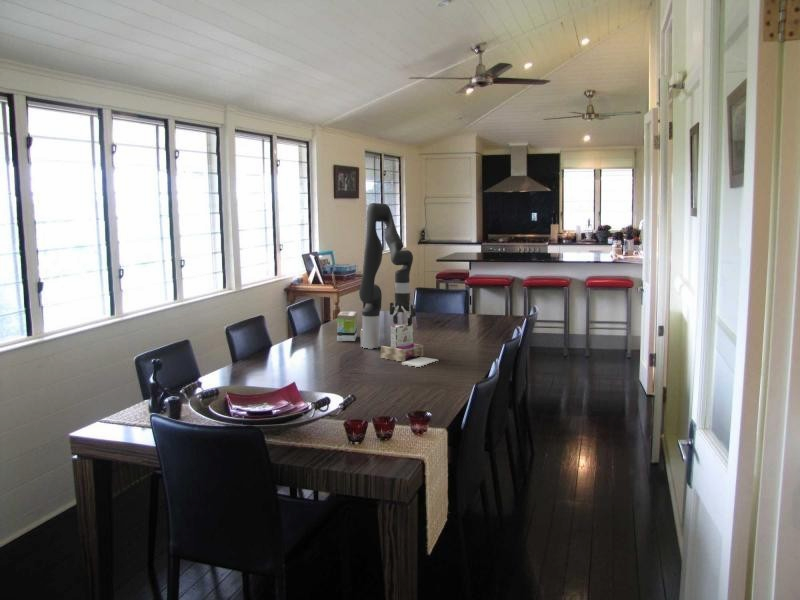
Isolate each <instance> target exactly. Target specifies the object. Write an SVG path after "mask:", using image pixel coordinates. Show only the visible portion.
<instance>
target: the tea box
mask: <svg viewBox="0 0 800 600" xmlns="http://www.w3.org/2000/svg"><path fill="white" fill-rule="evenodd" d="M336 321H337V323H336V326H337V327H336V328H337V329H336V330H337V331H336V342H342V341H354V342H355V341H356V339H357V337H358V311H339V313H338V314H337V320H336ZM356 336H357V337H356Z"/></svg>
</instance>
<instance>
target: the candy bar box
mask: <svg viewBox="0 0 800 600" xmlns="http://www.w3.org/2000/svg"><path fill="white" fill-rule="evenodd" d="M414 336H415V335H414V324H413V323H412V325H410V326H408V322H406V323H401V324H400V323H399V324H392V325H390V347H392V348H398V349H404V350H405V349H409V348H412V347H414V344H415V343H414ZM410 356H414V350H411V351H407V352H406V357H409V358H411V357H410ZM414 357H415V356H414Z"/></svg>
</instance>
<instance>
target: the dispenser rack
mask: <svg viewBox="0 0 800 600" xmlns="http://www.w3.org/2000/svg"><path fill="white" fill-rule="evenodd" d="M411 350H414V355H419V356H423V357H424V345H423V344H419V343H414V347H412V348H409V349H405V350H404V349H398V348H392V347H391V346H386V345H381V346H380V359H382V358H385V359H384V360H387V359H390V360H389V361H393V360H396V361H395V362H398V361H402V362H405V361H407V360H406V359H407V358H406V352H407V351H411ZM402 362H401V363H402Z"/></svg>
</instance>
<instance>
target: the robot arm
mask: <svg viewBox="0 0 800 600" xmlns="http://www.w3.org/2000/svg"><path fill="white" fill-rule="evenodd" d="M377 222H378V223H381V222H383V223H384V225H385V226H386V228H385V233H384V239H385V243H386V244H387V246H388V248H389V252H390V260H391V262H392V264H393V265H395V266H402V268H401V269H398V270H396V271H395V272H394V301H393V302H390V303H389V315H391V316H392V321H393V325H398V322H399V321H398V315H399V314H400V313H402V314H404V315H406V316H407V323H408V326H410V325H412V324H413V318H414V317H416V316H417V314H416V313H417V311H416V304H415V303H413V304H411V303H410V302H411V283H410V281H411V279H410V274H411V273H410V272H411V271H412V270H411V269H412V266H413V262H414V255H413V253H412V252H411V250H406V249H405V250H403V248H404V243H403V241H402V238H401V237H400V235H399V232H398V231H397V227H396V224H395V221H394V217H393V214H392V211H391V208H390V206H389V204H387V203H382V202H381V203H379V202H378V203H377V202H376V203H375V202H371V203H369V204H368V206H367V209H366V231H365V232H366V235H365V246H364V252H363V253H364V255H363V266H362V267H363V268H362V276H361V281H360V285H359V290H358V291H359V293H358V296H359V299H360V301H361V302H363V303H364V304H365V305H364V307H363V308H362V310H361V329H360V348H362V347H363V348H362V349H364V348H368V349H367V350H374V349H373V348H377V349H379V348H381V346H380V341H381V340H380V336H381V333H380V332H381V331H380V330H381V328H380V327H381V325H380V324H381V323H380V317H381V316H380V314H381V313H380V312H381V311H382V310H381V309H382V301H383V300H382V296H383V295H382V289H381V287H380V286H379V285H378V284H376V283H375V280H376V275H377V273H378V271H379V269H380V266H381V264H382V260H383V253H384V252H383V251H384V248H383V244H382V242H381V239H380V238H379V236H378V233H377ZM378 347H379V348H378Z"/></svg>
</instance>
